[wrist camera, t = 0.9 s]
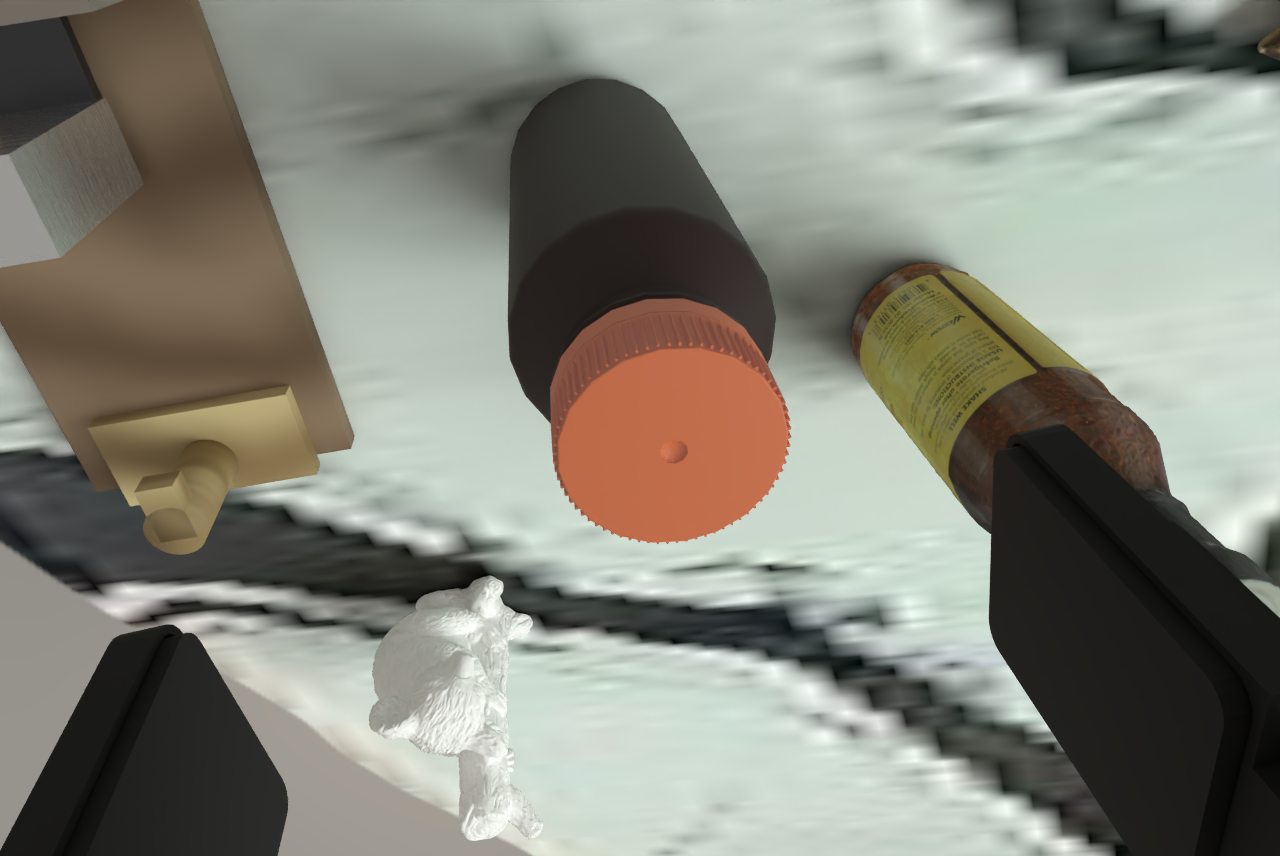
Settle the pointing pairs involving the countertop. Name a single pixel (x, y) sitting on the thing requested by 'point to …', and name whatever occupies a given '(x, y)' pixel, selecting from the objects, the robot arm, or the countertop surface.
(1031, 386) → the sauce bottle
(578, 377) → the vinegar
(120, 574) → the countertop surface
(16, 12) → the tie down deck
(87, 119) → the grey block
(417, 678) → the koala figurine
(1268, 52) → the ceramic sculpture
